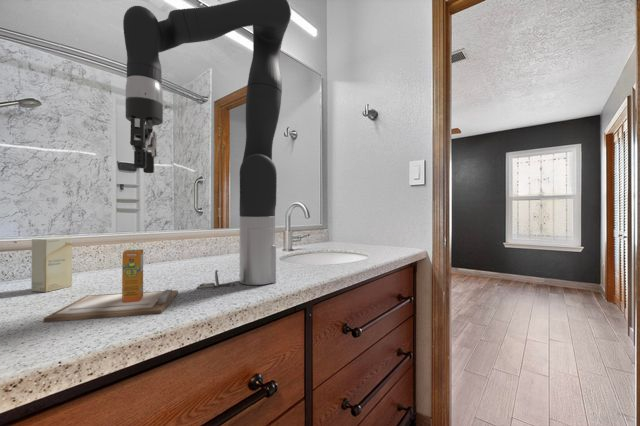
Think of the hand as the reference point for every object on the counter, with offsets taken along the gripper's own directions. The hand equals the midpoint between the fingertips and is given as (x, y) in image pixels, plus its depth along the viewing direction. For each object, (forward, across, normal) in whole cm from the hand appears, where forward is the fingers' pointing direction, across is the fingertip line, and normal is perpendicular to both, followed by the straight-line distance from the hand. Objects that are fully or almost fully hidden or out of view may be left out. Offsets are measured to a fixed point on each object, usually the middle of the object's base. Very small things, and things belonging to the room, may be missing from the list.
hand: (144, 170), depth 70 cm
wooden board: (+28, -11, +2) cm, 30 cm away
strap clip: (+29, -1, -16) cm, 33 cm away
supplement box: (+28, -11, 0) cm, 30 cm away
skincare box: (+28, +9, +21) cm, 37 cm away
